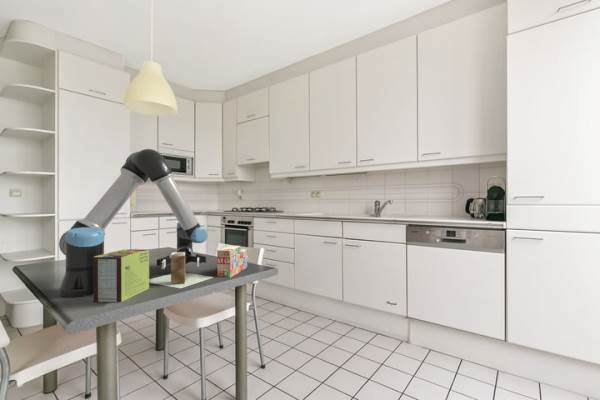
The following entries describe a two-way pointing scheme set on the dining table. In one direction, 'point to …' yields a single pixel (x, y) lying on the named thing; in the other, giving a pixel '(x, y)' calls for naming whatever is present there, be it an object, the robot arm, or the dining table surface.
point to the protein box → (120, 275)
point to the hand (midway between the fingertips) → (180, 264)
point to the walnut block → (177, 268)
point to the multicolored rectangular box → (231, 260)
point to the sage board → (189, 280)
